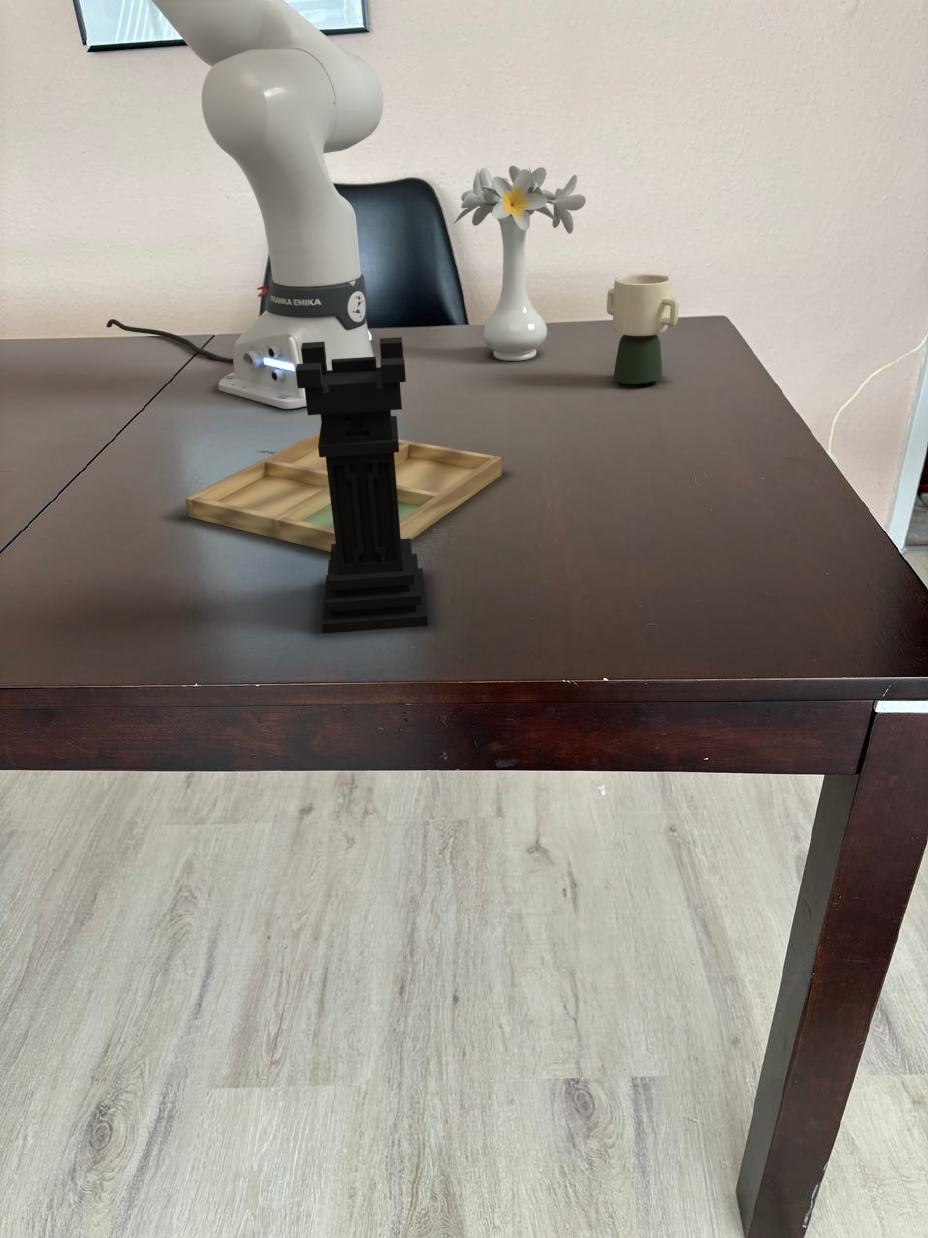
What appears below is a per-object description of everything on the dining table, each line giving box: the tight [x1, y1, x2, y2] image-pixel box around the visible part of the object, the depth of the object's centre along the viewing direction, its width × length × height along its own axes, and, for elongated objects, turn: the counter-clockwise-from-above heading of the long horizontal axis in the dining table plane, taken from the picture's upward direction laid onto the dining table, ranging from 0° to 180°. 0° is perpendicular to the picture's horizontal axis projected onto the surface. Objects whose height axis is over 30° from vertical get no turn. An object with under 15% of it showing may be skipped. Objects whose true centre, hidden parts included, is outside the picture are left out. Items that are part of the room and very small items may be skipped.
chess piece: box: [296, 336, 429, 634], centre depth 71 cm, size 8×8×20 cm
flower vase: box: [453, 165, 587, 362], centre depth 132 cm, size 13×18×25 cm
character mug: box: [606, 273, 680, 386], centre depth 121 cm, size 11×7×13 cm, turn 43°
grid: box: [184, 430, 502, 553], centre depth 95 cm, size 22×22×2 cm
